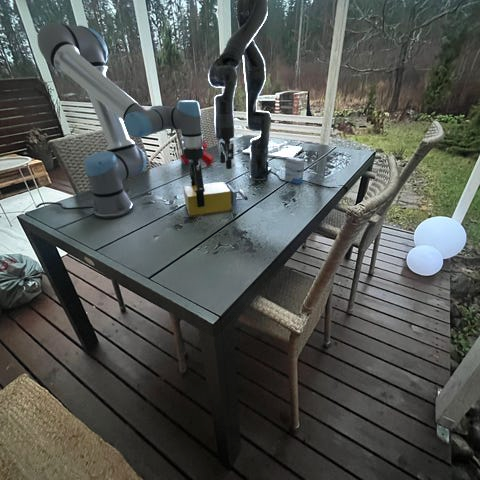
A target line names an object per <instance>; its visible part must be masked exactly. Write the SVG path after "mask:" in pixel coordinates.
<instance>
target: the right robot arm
mask: <svg viewBox="0 0 480 480" xmlns="http://www.w3.org/2000/svg"><path fill="white" fill-rule="evenodd" d="M268 10H269V4H268V0H237V1H236V18H237V19H236V20H237V25H238V29H237V30H236V31H235V32H233V34H232V35H231V36H230V37H229V39H228V40H227V42H226V44H225V46H224V49H223V51H222V53H220V55H218V57H217V58H216V59H215V60H214V62H213V63H212V64H211V65H210V67H209V70H208V73H207V77H208V82H209V84H210V85H211V86H212V87H213V88H224V89H223V91H222V94H217V95H216V96H215V97H214V135H215V139H217V152H218V154H219V163H220V164H225V169H226V170H231V169H232V160H234V159H235V156H234V143H231V139H234V138H235V116H234V98H235V92H236V88H237V83H238V71H237V68H238V67H239V65H240V64H241V61H242V63H243V74H244V84H245V93H246V94H245V95H246V122H247V128H248V129H249V131H252V132H260V134H259V136H257V137H254V138H251V139H250V146H251V148H250V154H249V157H250V158H249V160H250V161H249V165H250V166H249V167H250V168H249V178H250V180H253V181H256V182H257V181H265V180H268V179H269V176H270V174H273V175H275V176H276V177H277V179H278V180H279V181H281V182H286V181H285V179H282V178H281V177H280V176H279V175H278V174H277V173H276V172H274V171H272V167H270V166H269V156H268V145H269V139H271V138H270V137H271V127H272V126H271V125H272V115H271V113H270V112H269V111H264V110H257V109H258V108H257V102H258V99H259V96H260V94H261V91H262V89H263V88H264V86H265V82H266V63H265V59H264V57H263V55H262V53H261V51H260V50H259V48H258V46H257V45H256V43H255V39H254V38H255V36H256V35H257V34H258V32H259V30H260V29H261V28H262V26H264V25H263V24H264V23H265V21H266V20H267V16H268V12H269V11H268ZM302 182H304V183H307V184H311V185H315V186H318V187H320V188H321V187H322V188H326V189H338V187H335V186H327V185H323V184H319V183H316V182H312V181H309V180H305V179H303V181H302ZM338 186H344V187H343V188H344V189H345V190H346V189H348V187H347V186H346V185H343V184H340V185H338Z"/></svg>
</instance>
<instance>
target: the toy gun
mask: <svg viewBox="0 0 480 480" xmlns="http://www.w3.org/2000/svg"><path fill="white" fill-rule="evenodd" d="M202 147H203V152H204V157H203V158H201V159H199V160H198V161H200V160H202V161H203V162H204V163H205V165H206V166H207V167H208V166H210V165H211V164H213V163H214V160H215V158H214V156H212V155H210V154H209V153H208V152H207V151H206V150H207V148H208V144H207V143H206V142H205V140H204V139H203V146H202ZM180 159H181V160H182V161H183V163H184V164H185V165H187V164H189V160H188V159H185V158H184V153H182V154H181V155H180Z"/></svg>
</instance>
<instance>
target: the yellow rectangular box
mask: <svg viewBox="0 0 480 480" xmlns="http://www.w3.org/2000/svg"><path fill="white" fill-rule="evenodd" d="M203 185H204V190H205V191H204V204H205V206H203V207H198V205H197V195H196V193H195V191H196V190H197V189H196V185H193V186H191V185H187V186H185V185H184V186H183V195H184V202H185V203H184V205H185V208H186V211H187V213H188V216H189V218H197V217H203V216H210V215H215V214H223V213H230V212H232V205H231V191H230V190H229V189H228V187H227V184H226V183H225V182H224V181H220V182H219V181H218V182H211V183H203Z"/></svg>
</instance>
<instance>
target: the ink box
mask: <svg viewBox="0 0 480 480" xmlns="http://www.w3.org/2000/svg"><path fill="white" fill-rule="evenodd" d="M305 162H306V159H304V158H299V157H296V156H294V157H289V158H287V159H286V158H285V169H284V180H285V181H284V182H289V183H293V184H295V185H298V184H300V183H302V182H304V181H303V180H304V173H305V171H304V170H305Z"/></svg>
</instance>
